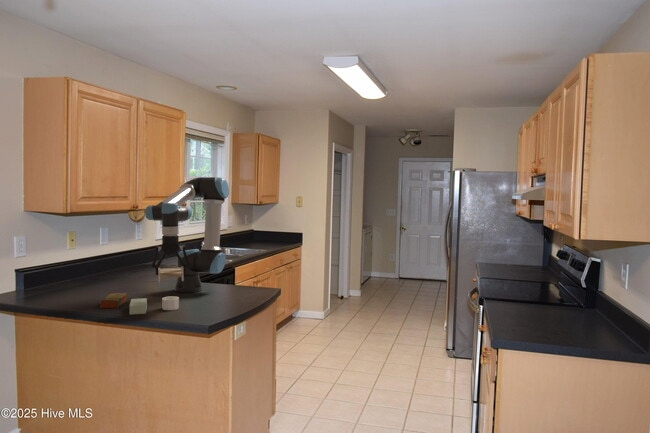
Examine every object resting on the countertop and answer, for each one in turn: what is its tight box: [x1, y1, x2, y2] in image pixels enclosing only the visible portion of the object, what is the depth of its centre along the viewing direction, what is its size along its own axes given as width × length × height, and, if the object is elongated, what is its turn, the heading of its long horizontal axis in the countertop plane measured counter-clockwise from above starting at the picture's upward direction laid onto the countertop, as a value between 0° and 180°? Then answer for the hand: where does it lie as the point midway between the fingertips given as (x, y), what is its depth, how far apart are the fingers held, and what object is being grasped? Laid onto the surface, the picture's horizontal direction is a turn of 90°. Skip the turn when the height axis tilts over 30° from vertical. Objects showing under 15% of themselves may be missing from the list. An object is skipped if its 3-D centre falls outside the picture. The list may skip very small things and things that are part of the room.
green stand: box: [129, 297, 148, 315], centre depth 234 cm, size 15×7×4 cm, turn 18°
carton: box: [99, 292, 128, 309], centre depth 246 cm, size 8×16×4 cm, turn 7°
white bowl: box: [161, 295, 180, 311], centre depth 238 cm, size 8×8×5 cm
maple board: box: [160, 267, 182, 279], centre depth 238 cm, size 15×10×2 cm, turn 18°
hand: (171, 281), depth 238 cm, fingers closed on maple board, 10 cm apart
